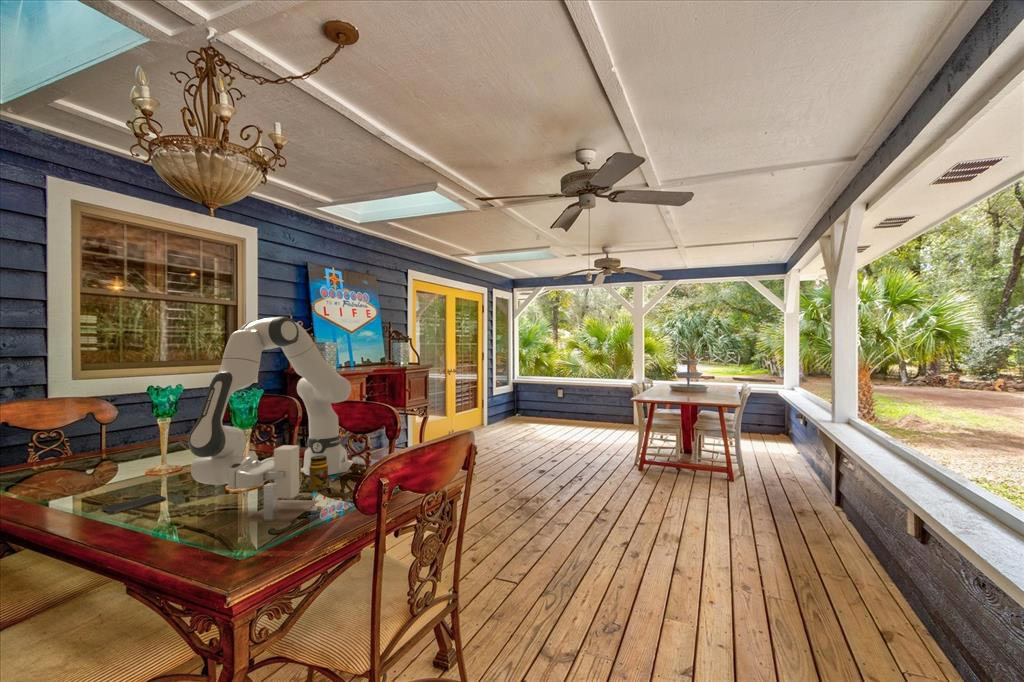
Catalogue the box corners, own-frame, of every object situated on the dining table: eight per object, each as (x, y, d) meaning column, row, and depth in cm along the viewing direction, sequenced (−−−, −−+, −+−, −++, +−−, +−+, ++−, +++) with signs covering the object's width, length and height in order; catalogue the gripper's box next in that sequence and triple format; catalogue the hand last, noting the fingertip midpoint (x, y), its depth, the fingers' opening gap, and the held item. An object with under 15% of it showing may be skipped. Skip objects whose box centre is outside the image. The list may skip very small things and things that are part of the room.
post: (268, 517, 137) (268, 482, 137) (277, 517, 137) (277, 483, 137) (263, 520, 135) (263, 485, 135) (272, 520, 134) (272, 485, 134)
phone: (167, 498, 155) (110, 511, 142) (167, 501, 155) (110, 515, 142) (156, 494, 159) (100, 507, 146) (156, 497, 159) (100, 510, 146)
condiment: (326, 493, 162) (326, 458, 162) (300, 494, 161) (300, 459, 161) (331, 487, 169) (331, 453, 169) (306, 488, 168) (306, 454, 168)
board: (276, 503, 152) (276, 500, 152) (319, 503, 152) (319, 500, 152) (242, 524, 134) (242, 521, 134) (290, 525, 134) (290, 521, 134)
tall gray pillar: (283, 492, 149) (283, 445, 148) (299, 492, 148) (299, 445, 148) (274, 498, 144) (274, 449, 143) (290, 498, 143) (290, 449, 143)
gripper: (265, 470, 157) (305, 471, 156) (225, 491, 136) (271, 492, 136) (265, 451, 157) (305, 452, 156) (225, 470, 136) (271, 470, 136)
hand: (289, 471), depth 146 cm, fingers closed on tall gray pillar, 5 cm apart
